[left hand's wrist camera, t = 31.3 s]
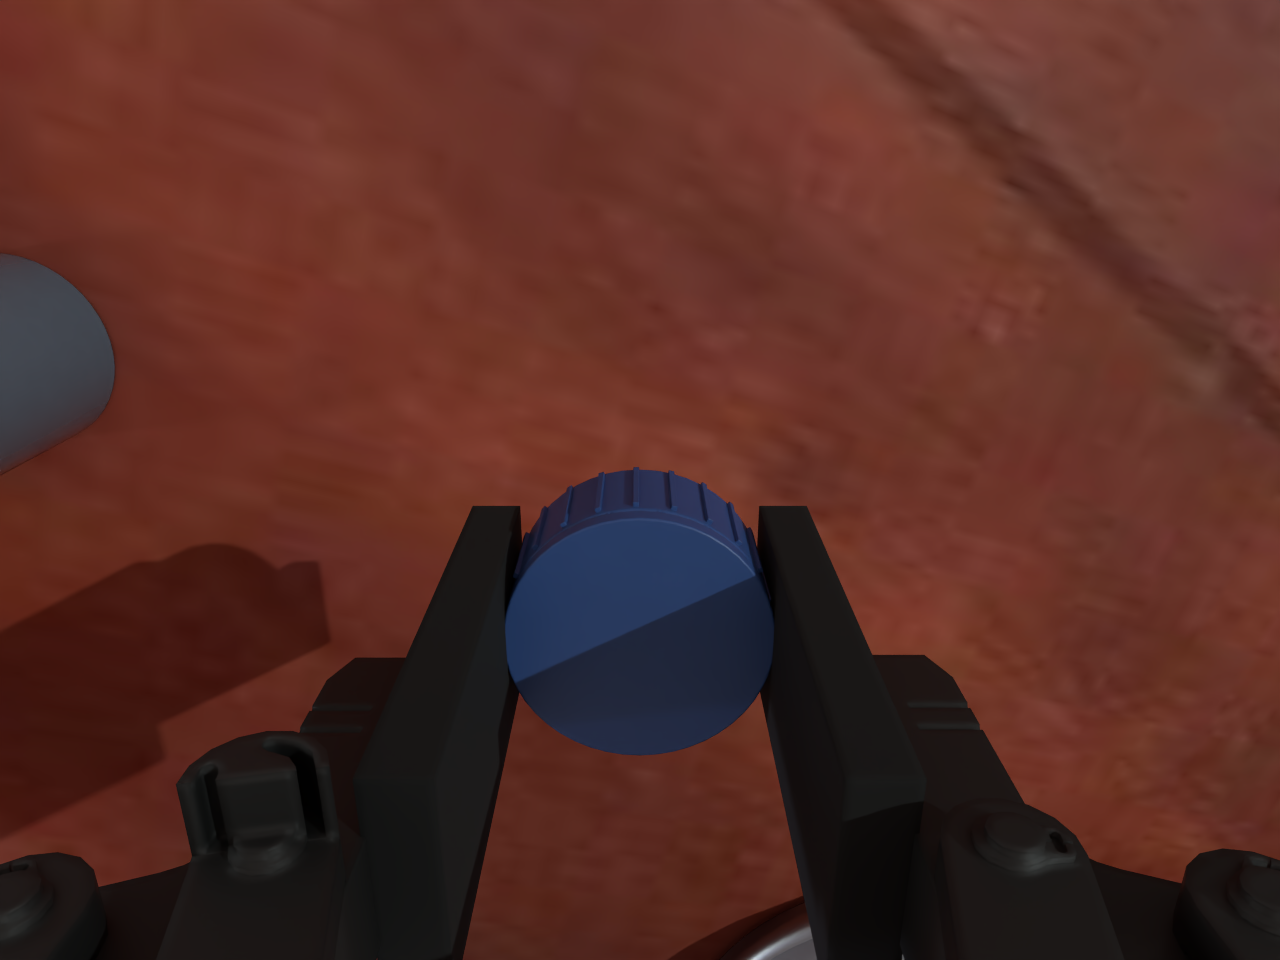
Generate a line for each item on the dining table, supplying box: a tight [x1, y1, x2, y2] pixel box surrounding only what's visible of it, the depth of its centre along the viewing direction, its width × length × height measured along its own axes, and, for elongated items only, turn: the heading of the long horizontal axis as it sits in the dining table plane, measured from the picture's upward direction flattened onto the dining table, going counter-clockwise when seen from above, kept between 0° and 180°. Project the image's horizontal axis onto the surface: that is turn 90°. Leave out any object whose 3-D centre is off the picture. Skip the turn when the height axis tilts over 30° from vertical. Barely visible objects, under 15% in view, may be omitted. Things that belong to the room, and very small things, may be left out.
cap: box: [505, 467, 774, 755], centre depth 14 cm, size 4×4×2 cm
